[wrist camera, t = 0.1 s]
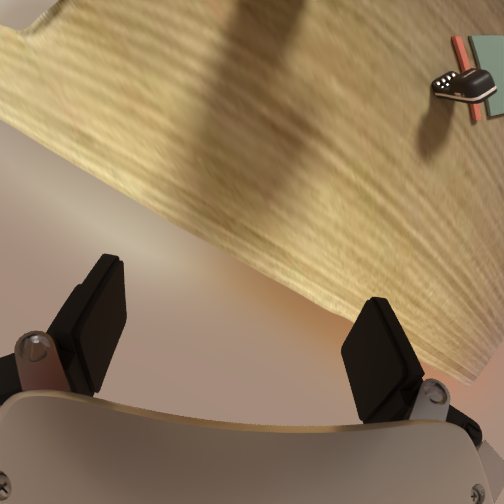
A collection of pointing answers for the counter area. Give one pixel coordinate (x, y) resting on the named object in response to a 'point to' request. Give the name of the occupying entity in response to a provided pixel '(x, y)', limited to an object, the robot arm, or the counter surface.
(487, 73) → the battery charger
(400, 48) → the counter surface
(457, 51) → the bar
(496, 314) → the counter surface
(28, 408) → the robot arm
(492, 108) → the mat
